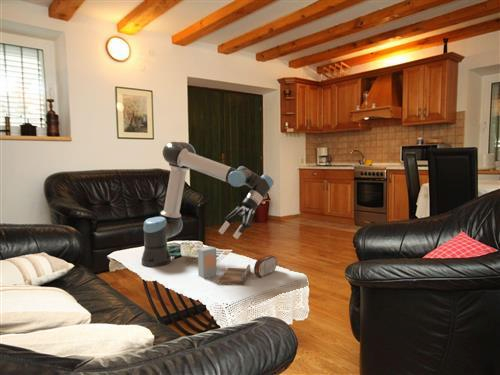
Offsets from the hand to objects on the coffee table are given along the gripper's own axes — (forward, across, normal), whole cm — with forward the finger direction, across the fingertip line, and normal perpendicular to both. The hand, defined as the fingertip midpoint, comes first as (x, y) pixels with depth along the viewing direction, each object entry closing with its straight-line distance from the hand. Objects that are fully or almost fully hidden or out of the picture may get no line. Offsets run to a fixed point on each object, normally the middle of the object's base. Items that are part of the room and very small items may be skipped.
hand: (227, 235), depth 170 cm
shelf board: (+14, -10, -11) cm, 20 cm away
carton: (+20, 0, -5) cm, 21 cm away
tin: (+5, -14, -21) cm, 26 cm away
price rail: (+11, -13, -13) cm, 21 cm away
